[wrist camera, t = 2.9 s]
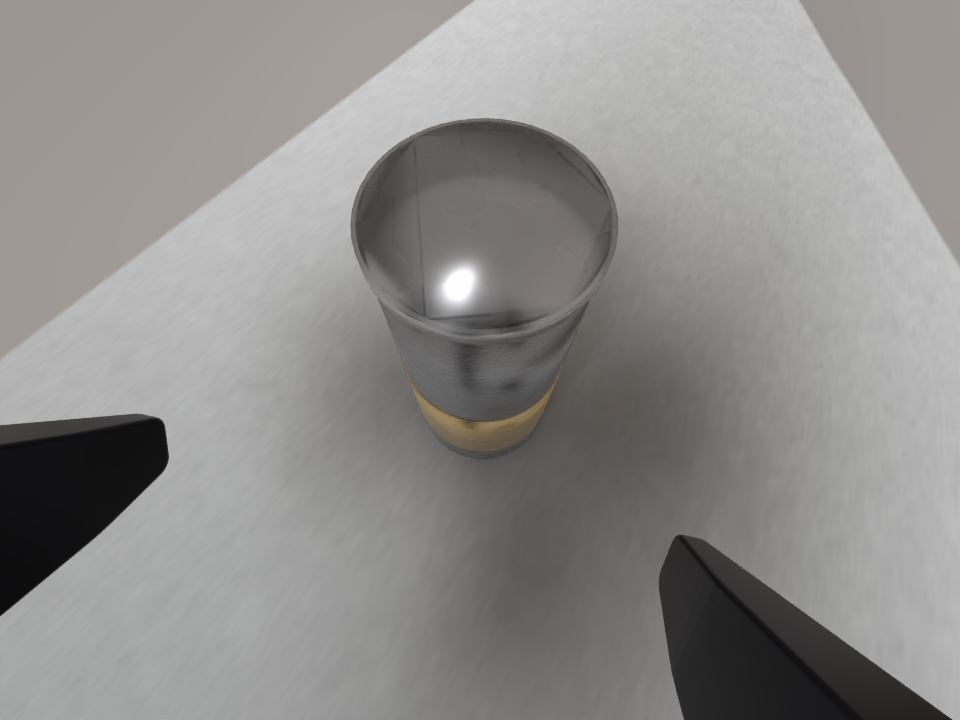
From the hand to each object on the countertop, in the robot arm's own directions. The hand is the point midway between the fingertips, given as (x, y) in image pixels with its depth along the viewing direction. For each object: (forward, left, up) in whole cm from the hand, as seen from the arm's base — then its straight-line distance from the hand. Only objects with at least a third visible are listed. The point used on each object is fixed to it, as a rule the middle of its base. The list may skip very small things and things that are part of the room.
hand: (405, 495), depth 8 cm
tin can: (+5, +3, -13) cm, 14 cm away
